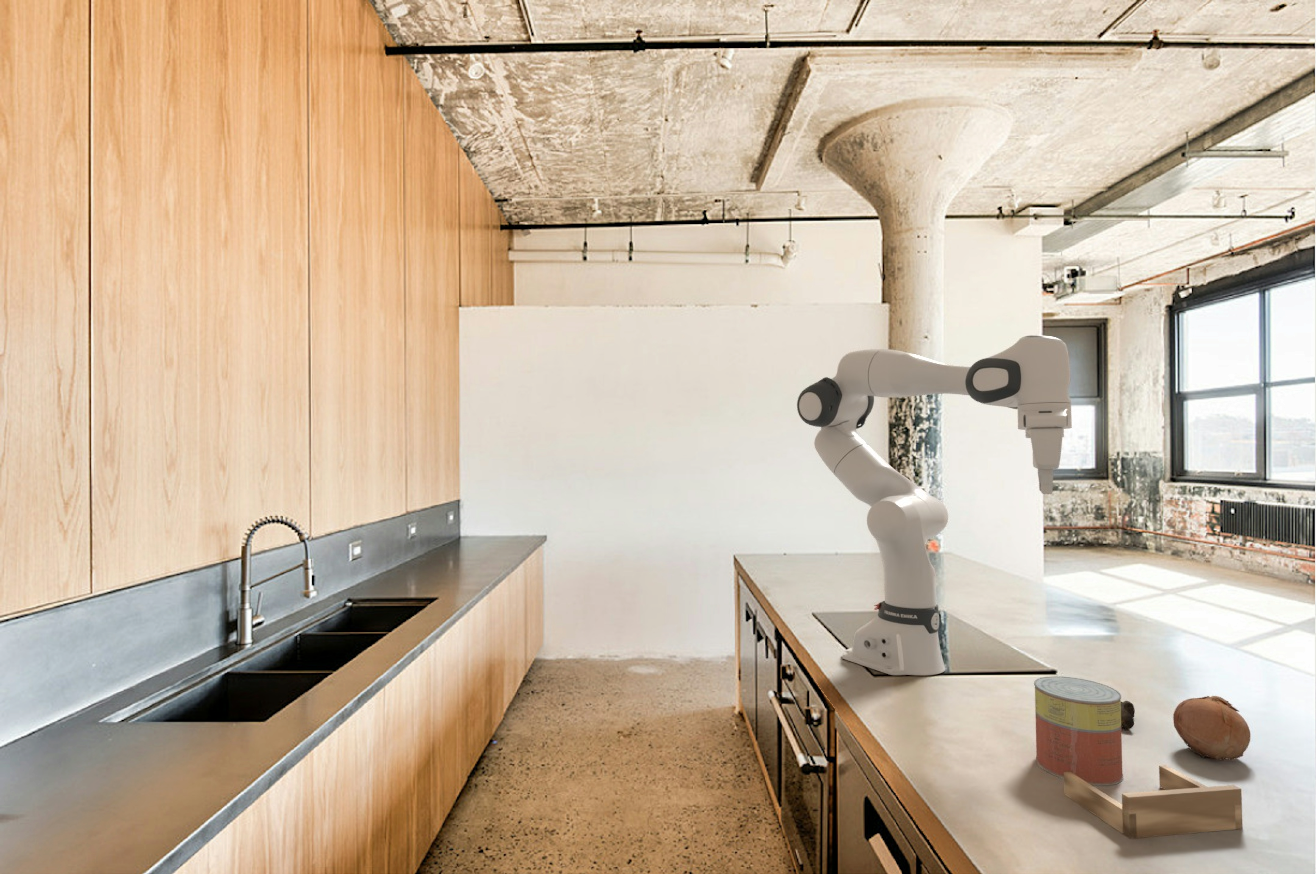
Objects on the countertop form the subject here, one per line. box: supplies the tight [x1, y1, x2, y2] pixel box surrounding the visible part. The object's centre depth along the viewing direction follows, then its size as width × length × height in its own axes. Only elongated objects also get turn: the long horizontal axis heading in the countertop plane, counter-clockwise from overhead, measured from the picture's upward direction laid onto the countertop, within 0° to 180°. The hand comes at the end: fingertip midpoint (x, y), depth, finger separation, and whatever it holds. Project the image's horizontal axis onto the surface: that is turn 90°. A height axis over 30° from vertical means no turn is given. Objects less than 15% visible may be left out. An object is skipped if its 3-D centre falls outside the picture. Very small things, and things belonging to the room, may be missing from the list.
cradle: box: [1063, 764, 1244, 839], centre depth 89 cm, size 11×16×5 cm
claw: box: [1121, 700, 1136, 730], centre depth 124 cm, size 20×10×3 cm, turn 10°
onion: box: [1172, 695, 1251, 762], centre depth 105 cm, size 10×9×10 cm
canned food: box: [1033, 676, 1124, 787], centre depth 101 cm, size 11×11×12 cm
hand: (1045, 492), depth 125 cm, fingers open, 8 cm apart
